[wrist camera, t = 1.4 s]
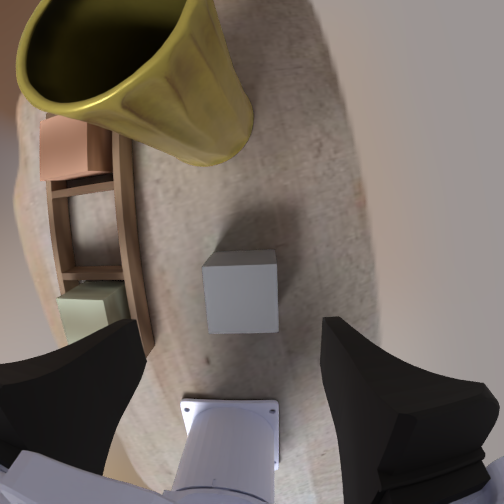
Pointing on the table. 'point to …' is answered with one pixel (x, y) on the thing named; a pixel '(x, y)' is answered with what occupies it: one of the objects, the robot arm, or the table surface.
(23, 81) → the vase
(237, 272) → the grey block
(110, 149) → the walnut rack
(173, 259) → the table surface
